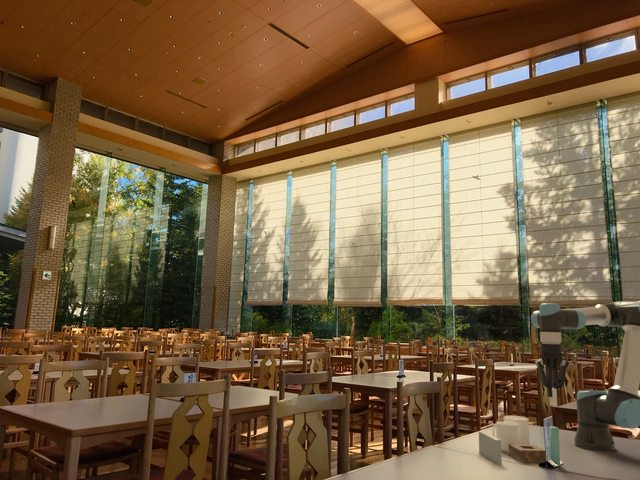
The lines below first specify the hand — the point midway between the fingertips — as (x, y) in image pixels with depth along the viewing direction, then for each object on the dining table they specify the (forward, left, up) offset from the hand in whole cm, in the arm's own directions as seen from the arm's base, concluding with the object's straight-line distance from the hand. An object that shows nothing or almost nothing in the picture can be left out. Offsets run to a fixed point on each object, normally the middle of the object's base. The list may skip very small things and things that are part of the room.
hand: (553, 406), depth 196 cm
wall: (+25, 0, -19) cm, 32 cm away
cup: (+13, -16, -20) cm, 28 cm away
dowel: (+5, +9, -19) cm, 22 cm away
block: (+11, 0, -19) cm, 22 cm away
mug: (+3, -26, -20) cm, 33 cm away
